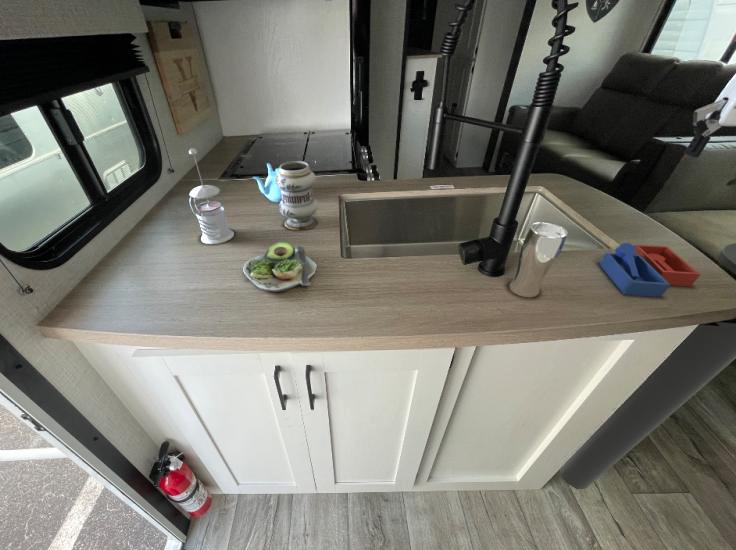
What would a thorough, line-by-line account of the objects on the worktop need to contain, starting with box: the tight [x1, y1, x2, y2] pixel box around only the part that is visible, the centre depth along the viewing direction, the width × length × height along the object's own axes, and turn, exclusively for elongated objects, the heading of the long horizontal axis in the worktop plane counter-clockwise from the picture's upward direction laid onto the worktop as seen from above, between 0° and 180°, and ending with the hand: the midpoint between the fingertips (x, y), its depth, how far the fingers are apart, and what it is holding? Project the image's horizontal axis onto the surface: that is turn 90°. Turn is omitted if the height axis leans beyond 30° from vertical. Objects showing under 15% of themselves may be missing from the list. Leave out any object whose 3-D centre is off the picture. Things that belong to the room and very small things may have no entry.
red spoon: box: [648, 253, 674, 271], centre depth 77 cm, size 9×3×2 cm, turn 170°
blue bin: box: [599, 252, 671, 298], centre depth 75 cm, size 12×7×3 cm, turn 170°
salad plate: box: [242, 241, 317, 293], centre depth 80 cm, size 19×18×5 cm
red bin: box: [633, 244, 702, 287], centre depth 77 cm, size 12×7×3 cm, turn 170°
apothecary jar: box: [275, 160, 319, 231], centre depth 98 cm, size 12×12×18 cm
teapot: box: [252, 162, 282, 203], centre depth 118 cm, size 15×15×10 cm
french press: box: [188, 147, 235, 245], centre depth 91 cm, size 10×12×25 cm
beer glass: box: [508, 221, 569, 298], centre depth 69 cm, size 7×7×15 cm
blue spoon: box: [614, 242, 639, 280], centre depth 76 cm, size 9×3×2 cm, turn 170°
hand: (717, 155), depth 68 cm, fingers open, 9 cm apart
